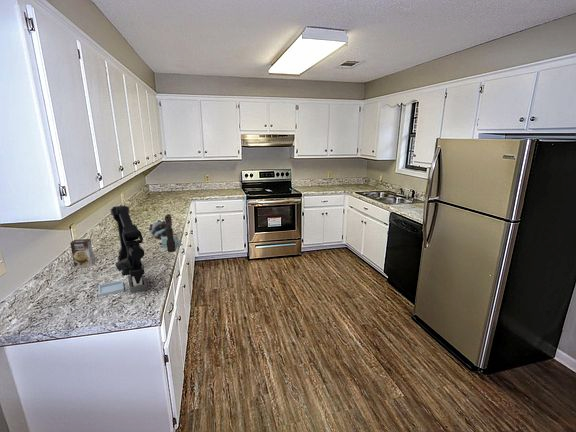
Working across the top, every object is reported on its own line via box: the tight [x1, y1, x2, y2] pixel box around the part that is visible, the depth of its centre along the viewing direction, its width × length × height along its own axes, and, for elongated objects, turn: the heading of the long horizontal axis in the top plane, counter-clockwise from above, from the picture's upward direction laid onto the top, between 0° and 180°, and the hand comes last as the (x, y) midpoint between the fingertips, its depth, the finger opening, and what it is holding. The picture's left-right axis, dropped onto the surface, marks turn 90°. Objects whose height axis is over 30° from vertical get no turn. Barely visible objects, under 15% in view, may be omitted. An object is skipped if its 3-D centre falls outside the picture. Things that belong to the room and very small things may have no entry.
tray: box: [97, 279, 125, 298], centre depth 156 cm, size 11×11×2 cm
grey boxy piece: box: [127, 274, 148, 294], centre depth 160 cm, size 16×8×8 cm, turn 31°
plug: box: [132, 276, 142, 286], centre depth 155 cm, size 4×4×7 cm
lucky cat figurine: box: [147, 219, 166, 240], centre depth 240 cm, size 15×12×14 cm
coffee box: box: [69, 238, 95, 269], centre depth 184 cm, size 9×6×16 cm
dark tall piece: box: [158, 213, 184, 253], centre depth 217 cm, size 16×21×33 cm
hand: (137, 281), depth 156 cm, fingers closed on plug, 4 cm apart
